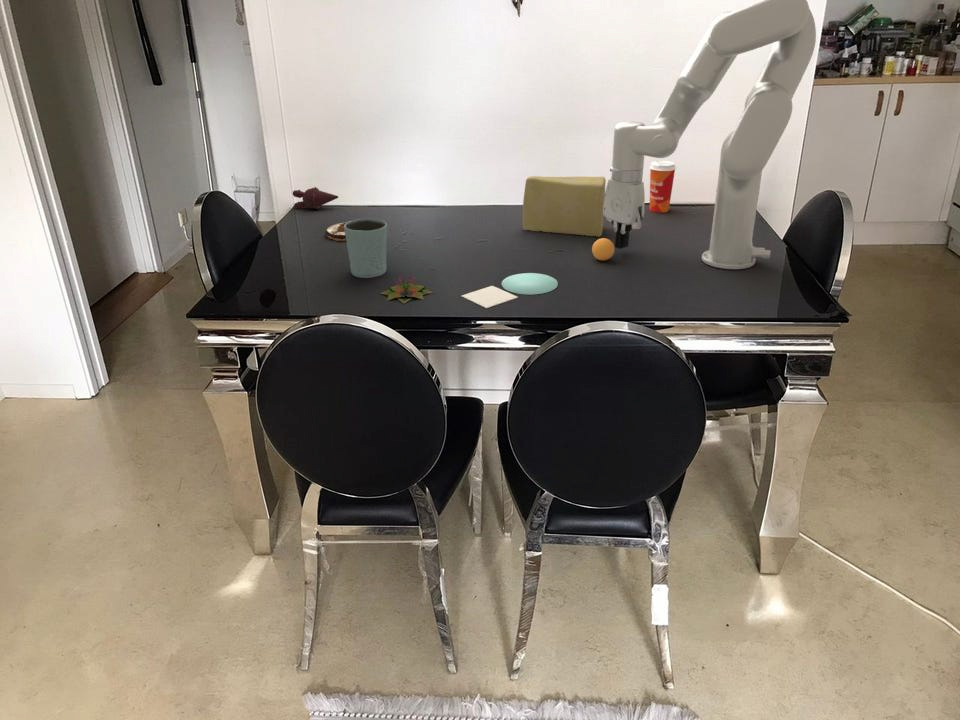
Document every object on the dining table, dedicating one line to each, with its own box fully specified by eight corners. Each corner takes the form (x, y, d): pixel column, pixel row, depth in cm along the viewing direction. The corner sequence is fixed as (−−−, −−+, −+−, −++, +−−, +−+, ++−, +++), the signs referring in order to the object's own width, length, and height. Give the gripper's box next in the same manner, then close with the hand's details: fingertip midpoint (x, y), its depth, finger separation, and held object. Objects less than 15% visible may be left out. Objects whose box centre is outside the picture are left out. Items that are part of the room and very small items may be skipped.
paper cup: (641, 208, 226) (644, 161, 219) (663, 205, 228) (668, 159, 221) (654, 215, 219) (658, 167, 213) (677, 212, 221) (682, 164, 215)
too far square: (492, 286, 172) (492, 285, 172) (517, 297, 166) (517, 296, 166) (461, 296, 167) (461, 295, 167) (486, 308, 161) (486, 307, 161)
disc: (562, 276, 177) (562, 275, 177) (551, 296, 166) (551, 296, 166) (509, 271, 180) (509, 271, 180) (495, 291, 169) (495, 290, 169)
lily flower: (369, 296, 170) (367, 277, 168) (410, 282, 178) (408, 263, 176) (402, 310, 163) (401, 291, 161) (443, 294, 170) (442, 276, 168)
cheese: (520, 235, 206) (520, 180, 199) (525, 224, 214) (526, 172, 207) (601, 238, 202) (604, 183, 195) (603, 227, 210) (606, 174, 203)
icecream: (341, 185, 234) (296, 188, 237) (332, 185, 227) (286, 188, 230) (343, 207, 235) (299, 210, 238) (335, 208, 228) (289, 211, 231)
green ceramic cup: (345, 267, 186) (340, 221, 180) (384, 262, 189) (380, 215, 183) (354, 281, 177) (348, 232, 172) (395, 275, 180) (391, 227, 175)
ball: (615, 257, 188) (616, 236, 185) (612, 264, 183) (613, 243, 181) (593, 255, 189) (594, 234, 187) (589, 262, 185) (590, 241, 182)
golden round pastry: (344, 248, 201) (342, 233, 199) (312, 237, 210) (310, 223, 208) (386, 235, 210) (385, 221, 208) (354, 225, 219) (352, 211, 217)
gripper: (594, 171, 184) (590, 242, 193) (639, 183, 174) (633, 258, 182) (615, 167, 188) (610, 236, 197) (661, 178, 178) (653, 251, 186)
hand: (621, 246), depth 190 cm, fingers closed
